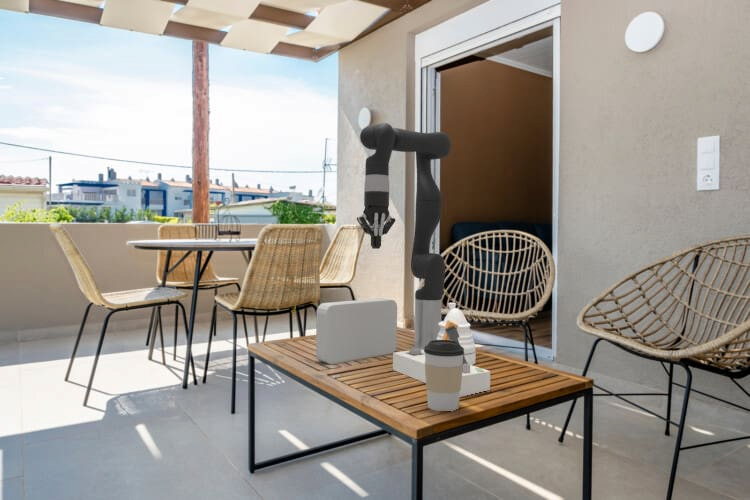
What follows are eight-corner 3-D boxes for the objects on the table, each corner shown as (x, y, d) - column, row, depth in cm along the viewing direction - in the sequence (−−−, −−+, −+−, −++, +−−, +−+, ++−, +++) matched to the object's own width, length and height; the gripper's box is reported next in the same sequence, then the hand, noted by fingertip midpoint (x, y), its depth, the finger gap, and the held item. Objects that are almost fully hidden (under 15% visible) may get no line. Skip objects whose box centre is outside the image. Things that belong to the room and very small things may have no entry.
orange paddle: (439, 360, 138) (455, 323, 137) (441, 363, 134) (458, 325, 134) (431, 356, 137) (447, 320, 137) (433, 360, 134) (450, 322, 134)
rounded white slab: (382, 349, 174) (382, 297, 173) (396, 353, 168) (397, 299, 167) (311, 360, 155) (312, 302, 155) (325, 365, 150) (326, 305, 149)
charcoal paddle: (468, 365, 129) (453, 325, 128) (472, 369, 125) (456, 328, 125) (460, 368, 129) (444, 329, 128) (463, 372, 125) (447, 331, 125)
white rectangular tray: (420, 365, 151) (420, 342, 151) (489, 390, 126) (490, 363, 126) (392, 369, 145) (393, 345, 145) (459, 397, 121) (460, 368, 121)
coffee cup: (419, 400, 118) (420, 337, 117) (457, 400, 119) (458, 336, 118) (427, 413, 109) (428, 345, 108) (468, 413, 110) (469, 344, 109)
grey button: (416, 357, 147) (416, 347, 147) (423, 360, 144) (423, 349, 144) (406, 359, 145) (406, 348, 145) (413, 361, 142) (413, 351, 142)
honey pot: (426, 358, 160) (427, 302, 160) (458, 355, 166) (459, 300, 165) (449, 368, 148) (451, 307, 148) (484, 363, 154) (485, 305, 154)
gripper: (364, 188, 144) (363, 248, 145) (401, 191, 151) (401, 249, 152) (351, 190, 151) (350, 248, 151) (388, 193, 158) (387, 248, 158)
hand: (376, 248), depth 151 cm, fingers closed
